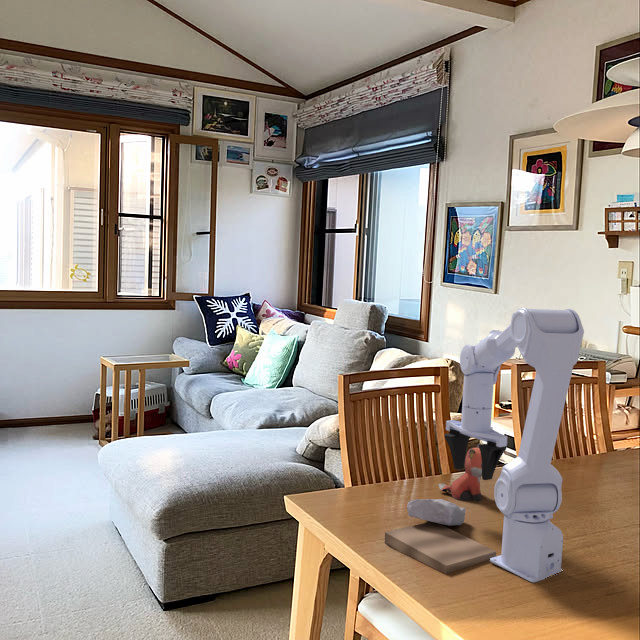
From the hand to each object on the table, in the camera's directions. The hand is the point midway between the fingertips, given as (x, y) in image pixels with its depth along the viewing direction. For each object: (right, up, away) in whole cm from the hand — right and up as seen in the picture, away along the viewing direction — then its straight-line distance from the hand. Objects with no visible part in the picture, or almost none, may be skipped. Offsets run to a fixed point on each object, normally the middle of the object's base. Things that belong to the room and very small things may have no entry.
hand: (472, 473), depth 141 cm
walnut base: (-9, -11, -13) cm, 20 cm away
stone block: (-13, -8, -1) cm, 15 cm away
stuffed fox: (+1, -9, +18) cm, 20 cm away
